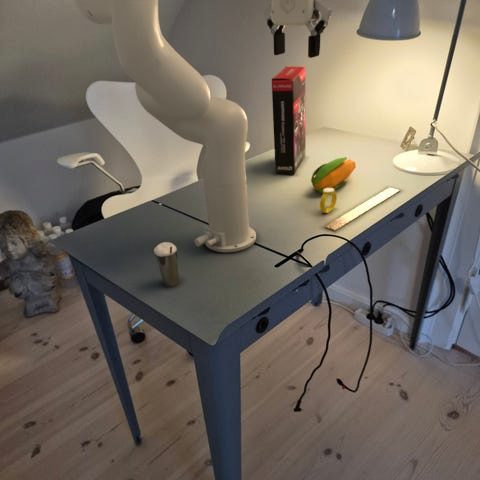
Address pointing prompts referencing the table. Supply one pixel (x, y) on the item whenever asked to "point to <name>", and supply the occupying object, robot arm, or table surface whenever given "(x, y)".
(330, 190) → the watch
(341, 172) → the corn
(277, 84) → the graphics card box
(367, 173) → the table surface
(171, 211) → the table surface
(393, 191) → the ruler
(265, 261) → the table surface
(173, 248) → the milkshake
